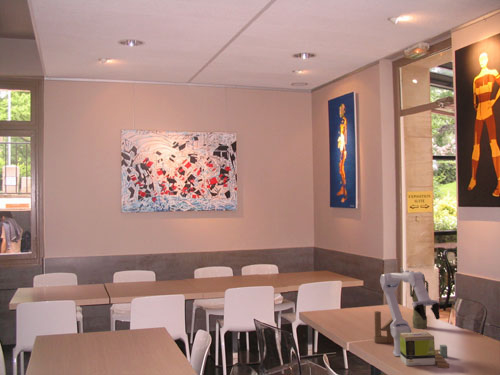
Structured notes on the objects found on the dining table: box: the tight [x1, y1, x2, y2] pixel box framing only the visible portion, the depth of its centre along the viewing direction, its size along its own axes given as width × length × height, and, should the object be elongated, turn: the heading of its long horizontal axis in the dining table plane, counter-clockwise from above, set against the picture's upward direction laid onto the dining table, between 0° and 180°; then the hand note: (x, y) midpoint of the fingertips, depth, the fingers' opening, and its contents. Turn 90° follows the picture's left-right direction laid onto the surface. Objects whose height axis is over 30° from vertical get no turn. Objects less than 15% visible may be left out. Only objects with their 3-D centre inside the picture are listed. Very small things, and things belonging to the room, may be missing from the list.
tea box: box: [400, 331, 436, 367], centre depth 284 cm, size 15×10×15 cm, turn 92°
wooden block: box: [373, 310, 394, 344], centre depth 324 cm, size 4×11×18 cm, turn 85°
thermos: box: [409, 273, 430, 330], centre depth 360 cm, size 9×12×35 cm
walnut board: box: [435, 352, 450, 369], centre depth 287 cm, size 24×5×2 cm, turn 174°
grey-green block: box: [435, 344, 448, 359], centre depth 294 cm, size 4×7×6 cm, turn 84°
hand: (431, 319), depth 273 cm, fingers open, 7 cm apart
